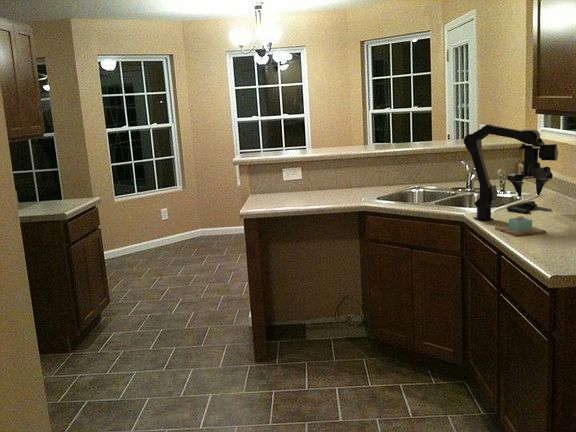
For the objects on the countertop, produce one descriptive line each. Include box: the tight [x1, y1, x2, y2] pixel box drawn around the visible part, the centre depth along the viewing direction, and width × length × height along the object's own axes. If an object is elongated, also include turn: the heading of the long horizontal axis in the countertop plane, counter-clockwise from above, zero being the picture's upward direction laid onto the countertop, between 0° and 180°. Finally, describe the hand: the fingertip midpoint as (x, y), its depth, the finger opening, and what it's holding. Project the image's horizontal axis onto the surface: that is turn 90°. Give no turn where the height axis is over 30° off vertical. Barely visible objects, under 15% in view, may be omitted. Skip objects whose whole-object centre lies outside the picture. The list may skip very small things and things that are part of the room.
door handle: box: [506, 200, 552, 215], centre depth 283 cm, size 3×20×16 cm
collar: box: [508, 217, 533, 231], centre depth 241 cm, size 6×6×4 cm
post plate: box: [494, 215, 547, 237], centre depth 241 cm, size 14×14×6 cm
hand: (529, 196), depth 253 cm, fingers open, 9 cm apart
